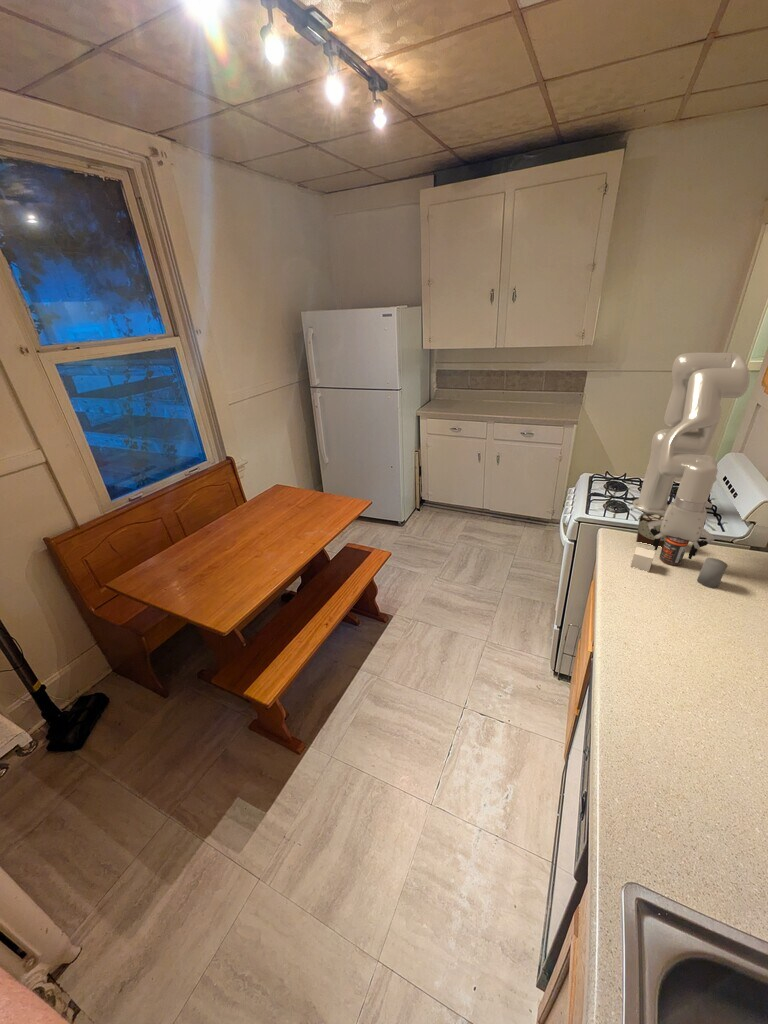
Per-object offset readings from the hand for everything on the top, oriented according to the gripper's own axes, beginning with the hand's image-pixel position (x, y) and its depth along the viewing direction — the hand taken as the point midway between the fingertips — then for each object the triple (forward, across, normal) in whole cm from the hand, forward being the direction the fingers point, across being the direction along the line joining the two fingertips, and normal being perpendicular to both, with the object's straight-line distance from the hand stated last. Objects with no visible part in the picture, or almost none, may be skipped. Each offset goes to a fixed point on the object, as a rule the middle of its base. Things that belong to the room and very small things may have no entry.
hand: (672, 552), depth 127 cm
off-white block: (+3, +7, +8) cm, 11 cm away
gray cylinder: (+3, -10, +7) cm, 13 cm away
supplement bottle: (+3, 0, 0) cm, 3 cm away
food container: (+3, +6, -10) cm, 12 cm away
